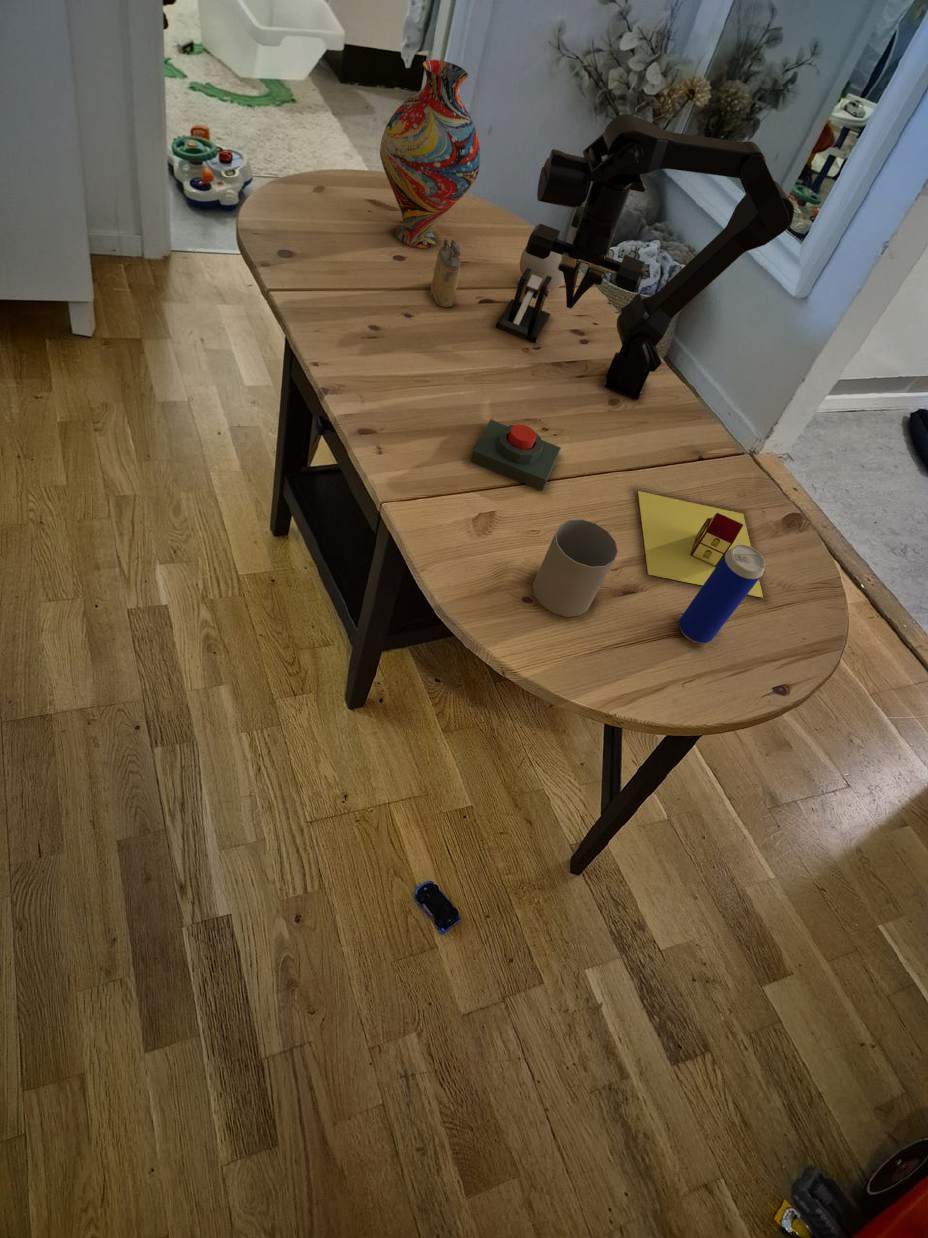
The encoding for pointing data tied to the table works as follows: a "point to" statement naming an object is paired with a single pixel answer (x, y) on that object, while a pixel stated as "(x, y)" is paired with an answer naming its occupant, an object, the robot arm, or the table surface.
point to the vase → (430, 152)
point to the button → (522, 437)
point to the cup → (574, 567)
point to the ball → (543, 267)
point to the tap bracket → (533, 315)
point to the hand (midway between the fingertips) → (569, 306)
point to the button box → (515, 456)
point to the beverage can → (722, 593)
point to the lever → (523, 308)
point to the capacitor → (446, 274)
